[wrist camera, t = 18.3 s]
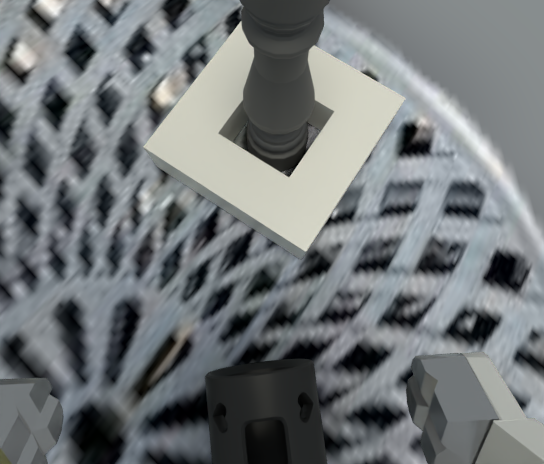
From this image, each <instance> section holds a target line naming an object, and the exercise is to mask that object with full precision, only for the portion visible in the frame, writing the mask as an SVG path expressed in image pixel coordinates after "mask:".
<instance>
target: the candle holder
mask: <svg viewBox="0 0 544 464" xmlns="http://www.w3.org/2000/svg"><path fill="white" fill-rule="evenodd" d="M329 1H330V0H240V2H241V4H242V5H243V6H244V7H243V9H242V11H241V17H242V30H243V32H244V34H245V36H246V38H247V40H248V42H249V44H250V45H251V46H252V47H254V58H253V62H252V65H251V68H250V71H249V74H248V77H247V80H246V83H245V86H244V89H243V106H244V109H245V111H246V113H247V115H248V118H249V119H248V124H247V144H248V151H249V153H250V154H252V155H254V156H255V157H257V158H258V159H260V160H262V161H263V162H265V163H266V164H268V165H270V166H271V167H273V168H274V169H276V170H278V171H285V170H288V169H290V168H293V167H294V166H295V165H296V164H297V163H298V162H299V161H300V160H301V159H302V157H303V154H304V151H305V149H306V144H307V139H308V124H307V120H308V119H309V118H310V115H311V113H312V110H313V108H314V105H315V92H314V86H313V81H312V77H311V73H310V68H309V63H308V54H309V50H310V49H311V48H312V47H313V46H314V45H315V44H316V43H317V42H318V39H319V37H320V34H321V32H322V30H323V27H324V14H323V9H324V7H325V6H326V5H327V4H328V3H329Z"/></svg>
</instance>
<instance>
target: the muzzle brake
mask: <svg viewBox="0 0 544 464" xmlns="http://www.w3.org/2000/svg"><path fill="white" fill-rule="evenodd" d="M205 382H206V394H207V406H208V419H209V431H210V443H211V455H212V464H327V459H326V451H325V443H324V436H323V428H322V421H321V414H320V407H319V399H318V392H317V385H316V377H315V370H314V362H313V361H311V360H309V359H285V360H274V361H265V362H257V363H250V364H243V365H237V366H232V367H227V368H222V369H218V370H215V371H212V372H209V373H208V374H207V375H206V376H205Z"/></svg>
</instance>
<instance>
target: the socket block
mask: <svg viewBox="0 0 544 464" xmlns="http://www.w3.org/2000/svg"><path fill="white" fill-rule="evenodd" d="M253 58H254V47H252V46H251V45H250V44H249V42H248V40H247V38H246V36H245V34H244V32H243V30H242V21H241V22H240V23H239V25H238V26H237V27H236V29H235V30H234V31H233V32H232V34H231V35H230V36H229V38H228V39H227V40H226V41H225V43H224V44H223V45H222V47H221V48H220V49H219V50H218V52H217V53H216V54H215V56H214V57H213V58H212V59H211V61H210V62H209V63H208V64H207V66H206V67H205V68H204V70H203V71H202V72H201V73H200V75H199V76H198V77H197V79H196V80H195V81H194V82H193V84H192V85H191V86H190V88H189V89H188V90H187V91H186V93H185V94H184V95H183V97H182V98H181V99H180V100H179V102H178V103H177V104H176V106H175V107H174V108H173V109H172V111H171V112H170V113H169V115H168V116H167V117H166V118H165V120H164V121H163V122H162V124H161V125H160V126H159V127H158V129H157V130H156V131H155V133H154V134H153V135H152V136H151V138H150V139H149V140H148V142H147V143H146V144H145V145H144V147H143V148H144V149H145V150H146V152H147V153H148V155H149V156H150V157H151V159H152V160H153V162H154V163H155V164H156V166H157V167H158V168H160V169H161V170H163V171H165V172H166V173H168V174H169V175H171V176H172V177H174V178H175V179H177V180H178V181H180V182H182V183H183V184H185V185H186V186H188V187H189V188H191V189H192V190H194V191H195V192H197V193H199V194H200V195H202V196H203V197H205V198H206V199H208V200H209V201H211V202H212V203H214V204H216V205H217V206H219V207H220V208H222V209H223V210H225V211H226V212H228V213H229V214H231V215H233V216H234V217H236V218H237V219H239V220H240V221H242V222H243V223H245V224H246V225H248V226H250V227H251V228H253V229H254V230H256V231H257V232H259V233H260V234H262V235H263V236H265V237H266V238H268V239H270V240H271V241H273V242H274V243H276V244H277V245H279V246H280V247H282V248H283V249H285V250H287V251H288V252H290V253H291V254H293V255H294V256H296V257H297V258H299V259H300V260H302V259H303V257H304V256H305V254H306V253H307V251H308V249H309V248H310V246H311V245H312V243H313V242H314V240H315V239H316V237H317V236H318V234H319V233H320V231H321V229H322V228H323V226H324V225H325V223H326V222H327V220H328V219H329V217H330V216H331V214H332V212H333V211H334V209H335V208H336V206H337V205H338V203H339V202H340V200H341V199H342V197H343V195H344V194H345V192H346V191H347V189H348V188H349V186H350V185H351V183H352V182H353V180H354V179H355V177H356V175H357V174H358V172H359V171H360V169H361V168H362V166H363V165H364V163H365V162H366V160H367V158H368V157H369V155H370V154H371V152H372V151H373V149H374V148H375V146H376V145H377V143H378V141H379V140H380V138H381V137H382V135H383V134H384V132H385V131H386V129H387V128H388V126H389V125H390V123H391V121H392V120H393V118H394V116H395V115H396V113H397V112H398V110H399V108H400V107H401V105H402V103H403V102H404V100H405V99H406V98H404V97H403V96H401V95H399V94H397V93H396V92H394V91H392V90H391V89H389V88H387V87H385V86H384V85H382V84H380V83H378V82H377V81H375V80H373V79H372V78H370V77H368V76H366V75H365V74H363V73H361V72H359V71H358V70H356V69H354V68H353V67H351V66H349V65H347V64H346V63H344V62H342V61H340V60H339V59H337V58H335V57H333V56H332V55H330V54H328V53H327V52H325V51H323V50H321V49H320V48H318V47H316V46H313V47H312V48H311V49H310V50H309V54H308V63H309V68H310V73H311V77H312V81H313V86H314V92H315V105H314V108H313V110H312V113H311V115H310V118H309V119H308V120H307V123H309V124H311V125H312V126H314V127H315V128H317V129H319V130H320V131H321V132H320V133H319V135H318V136H317V138H316V139H315V141H314V142H313V144H312V145H311V147H310V148H309V149H308V151H307V152H306V154H305V155H304V157H303V158H302V160H301V161H300V163H299V164H298V166H297V167H296V168H295V170H294V171H293V173H292V174H291V176H290V177H287V176H286V175H284V174H282V173H281V172H279V171H278V170H276V169H274V168H273V167H271V166H270V165H268V164H266V163H265V162H263V161H262V160H260V159H258V158H257V157H255V156H254V155H252V154H250V153H249V152H247V151H246V150H244V149H242V148H241V147H239V146H238V145H236V144H234V143H233V140H234V139H235V138H236V136H237V135H238V134H239V132H240V131H241V129H242V128H243V127H244V125H245V124H246V123H247V121H248V119H249V118H248V115H247V113H246V111H245V109H244V106H243V89H244V86H245V83H246V80H247V77H248V74H249V71H250V68H251V65H252V62H253Z"/></svg>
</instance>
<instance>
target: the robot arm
mask: <svg viewBox="0 0 544 464" xmlns="http://www.w3.org/2000/svg"><path fill="white" fill-rule="evenodd" d="M411 369H412V371H413V374H414V375H413V376H412V377H411V378H410V379H409V380H408V383H407V388H406V394H407V404H408V409H409V413H410V416H411V418H412V421H413V423H414V424H415V425H416V426H417V427H418V428H420V429H421V430H422V431H423V432H422V436H421V440H420V444H421V447H422V449H423V452H424V455H425V458H426V461H427V463H428V464H544V425H543V424H542V423H540V422H539V421H537V420H536V419H535V418H527V417H526V416H525V414H524V413H523V411H522V409H521V408H520V406H519V405H518V403H517V401H516V400H515V398H514V396H513V395H512V393H511V392H510V390H509V388H508V387H507V385H506V384H505V382H504V380H503V379H502V377H501V376H500V374H499V372H498V371H497V369H496V367H495V366H494V364H493V363H492V361H491V359H490V358H489V356H488V355H487V354H485V353H484V352H474V353H460V354H459V353H450V354H436V355H422V356H415V357H414V358H413V360H412V364H411ZM51 389H52V386H51V384H50V382H49V381H48V379H47V378H25V379H0V464H48V462H47V459H46V456H45V454H46V453H47V452H48V451H49V450H51V449H52V448H53V447H54V446H55V445H56V444H57V441H58V439H59V436H60V434H61V431H62V424H63V410H62V406H61V404H60V402H59V400H58V399H56V398H54V397H53V396H51V395H49V394H50V392H51Z"/></svg>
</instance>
